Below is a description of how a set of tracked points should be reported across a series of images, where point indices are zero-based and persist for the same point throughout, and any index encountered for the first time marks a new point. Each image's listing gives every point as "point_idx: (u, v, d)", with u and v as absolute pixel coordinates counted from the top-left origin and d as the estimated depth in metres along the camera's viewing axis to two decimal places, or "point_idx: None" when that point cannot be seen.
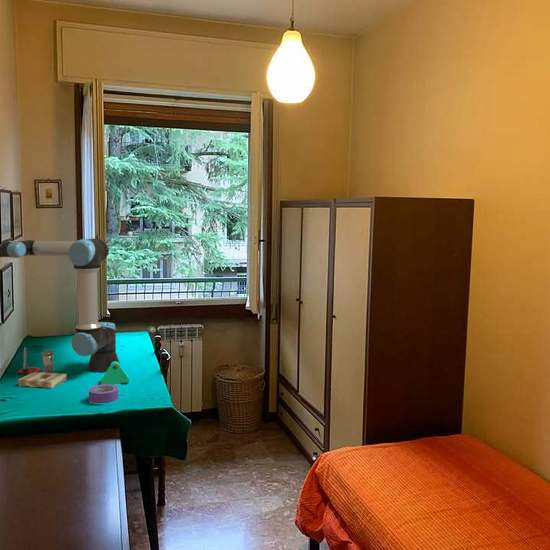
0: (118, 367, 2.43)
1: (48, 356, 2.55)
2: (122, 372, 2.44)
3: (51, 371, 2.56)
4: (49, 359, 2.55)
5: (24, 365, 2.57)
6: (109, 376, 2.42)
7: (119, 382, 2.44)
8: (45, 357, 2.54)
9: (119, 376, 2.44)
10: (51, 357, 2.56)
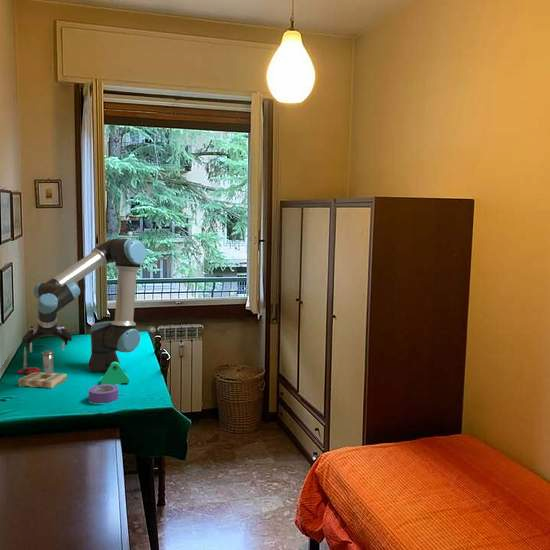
0: (118, 367, 2.43)
1: (48, 356, 2.55)
2: (122, 372, 2.43)
3: (51, 371, 2.56)
4: (49, 359, 2.55)
5: (24, 365, 2.58)
6: (109, 376, 2.42)
7: (119, 382, 2.44)
8: (45, 357, 2.54)
9: (119, 377, 2.43)
10: (51, 357, 2.56)
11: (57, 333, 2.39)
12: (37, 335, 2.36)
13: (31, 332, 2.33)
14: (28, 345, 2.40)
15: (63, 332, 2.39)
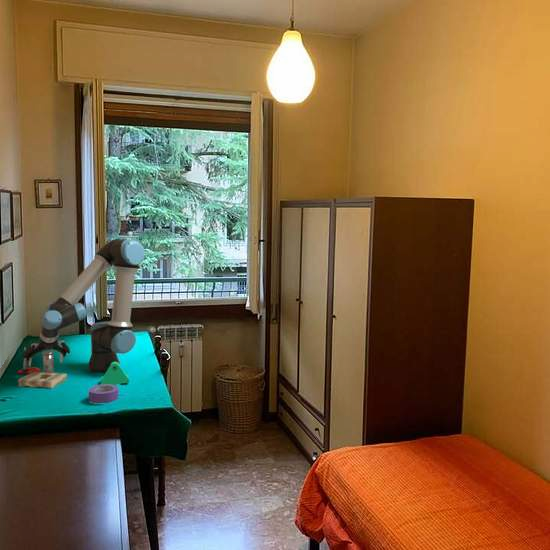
0: (118, 367, 2.42)
1: (48, 356, 2.55)
2: (122, 372, 2.43)
3: (51, 371, 2.56)
4: (49, 359, 2.55)
5: (24, 365, 2.58)
6: (109, 376, 2.42)
7: (119, 382, 2.43)
8: (45, 357, 2.54)
9: (119, 377, 2.43)
10: (51, 357, 2.56)
11: (57, 347, 2.48)
12: (38, 350, 2.43)
13: (33, 347, 2.40)
14: (28, 359, 2.47)
15: (63, 345, 2.47)
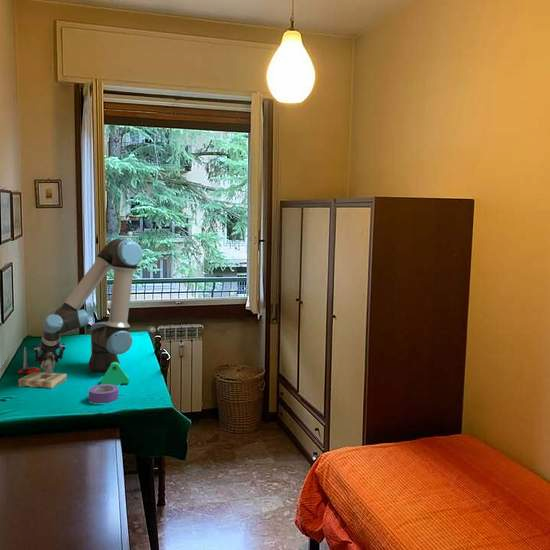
0: (118, 368, 2.42)
1: (48, 356, 2.55)
2: (122, 373, 2.43)
3: (51, 371, 2.56)
4: (49, 359, 2.55)
5: (24, 365, 2.58)
6: (109, 377, 2.42)
7: (119, 383, 2.43)
8: (45, 357, 2.54)
9: (119, 377, 2.43)
10: (51, 357, 2.56)
11: (55, 350, 2.52)
12: (43, 353, 2.49)
13: (36, 352, 2.46)
14: (40, 363, 2.55)
15: (62, 350, 2.52)
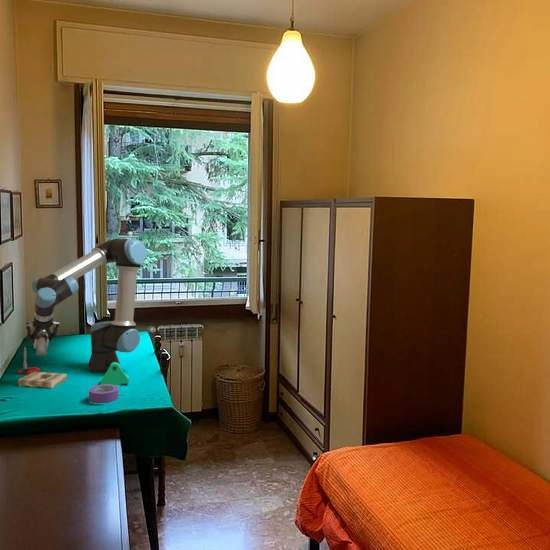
0: (118, 368, 2.42)
1: (41, 334, 2.41)
2: (122, 373, 2.42)
3: (44, 350, 2.43)
4: (42, 337, 2.41)
5: (24, 365, 2.58)
6: (109, 377, 2.41)
7: (119, 383, 2.43)
8: (38, 335, 2.41)
9: (118, 377, 2.42)
10: (44, 335, 2.42)
11: (48, 327, 2.38)
12: (36, 330, 2.36)
13: (28, 328, 2.32)
14: (33, 341, 2.42)
15: (56, 328, 2.39)
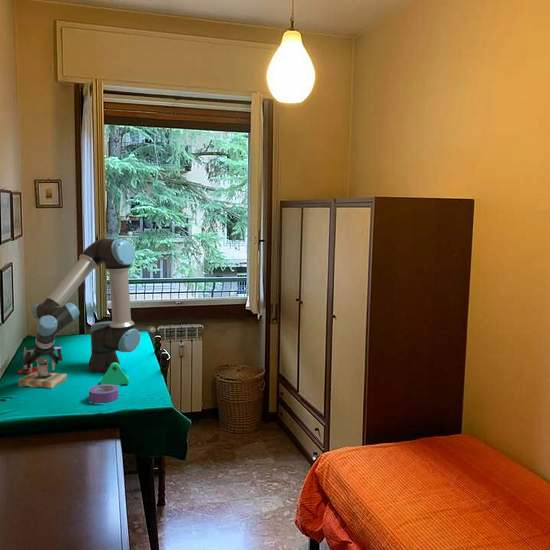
0: (117, 368, 2.41)
1: (42, 364, 2.42)
2: (122, 373, 2.42)
3: None
4: (44, 367, 2.42)
5: (24, 365, 2.58)
6: (108, 377, 2.41)
7: (119, 383, 2.42)
8: (39, 365, 2.42)
9: (118, 378, 2.42)
10: (46, 365, 2.43)
11: (51, 353, 2.39)
12: (35, 356, 2.36)
13: (28, 354, 2.32)
14: (28, 366, 2.41)
15: (59, 352, 2.39)
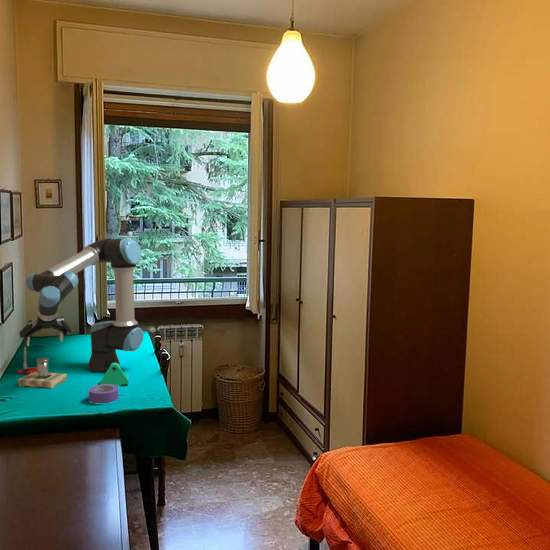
0: (117, 368, 2.41)
1: (43, 364, 2.42)
2: (121, 374, 2.41)
3: None
4: (44, 367, 2.42)
5: (24, 365, 2.58)
6: (108, 377, 2.40)
7: (118, 384, 2.42)
8: (40, 365, 2.42)
9: (118, 378, 2.41)
10: (46, 365, 2.43)
11: (56, 325, 2.32)
12: (36, 329, 2.27)
13: (30, 326, 2.24)
14: (26, 339, 2.31)
15: (63, 324, 2.31)
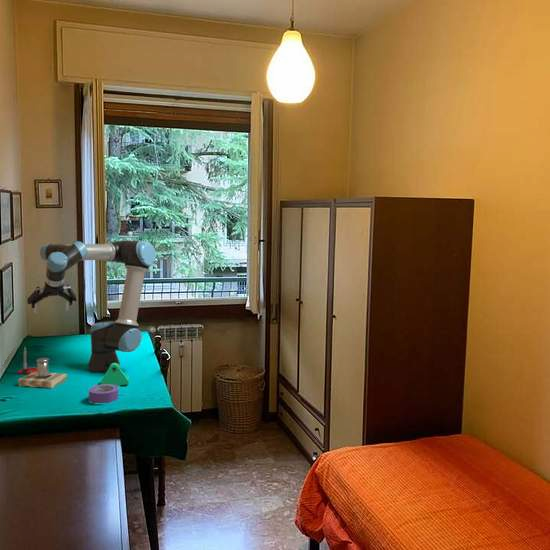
0: (117, 369, 2.40)
1: (43, 364, 2.42)
2: (121, 374, 2.41)
3: None
4: (44, 367, 2.42)
5: (24, 365, 2.58)
6: (108, 378, 2.40)
7: (118, 384, 2.41)
8: (40, 365, 2.42)
9: (118, 378, 2.41)
10: (46, 365, 2.43)
11: (63, 293, 2.40)
12: (43, 295, 2.35)
13: (38, 292, 2.32)
14: (33, 306, 2.39)
15: (69, 292, 2.39)
